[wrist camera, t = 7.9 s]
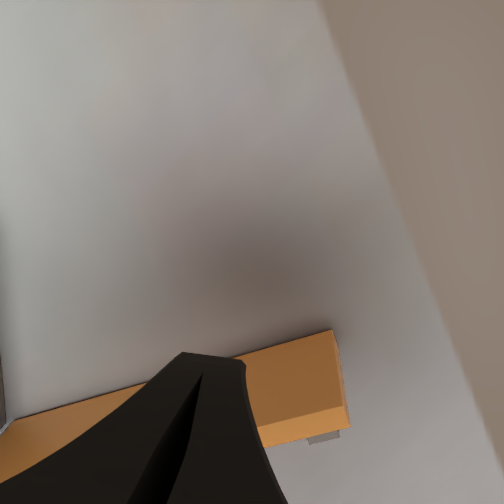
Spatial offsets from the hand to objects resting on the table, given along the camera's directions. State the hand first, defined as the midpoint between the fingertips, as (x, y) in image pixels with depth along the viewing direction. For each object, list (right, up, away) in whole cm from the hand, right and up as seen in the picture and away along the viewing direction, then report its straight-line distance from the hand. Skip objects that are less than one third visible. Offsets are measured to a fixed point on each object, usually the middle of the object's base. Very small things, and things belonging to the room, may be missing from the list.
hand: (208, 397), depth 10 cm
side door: (-3, -3, +11) cm, 12 cm away
